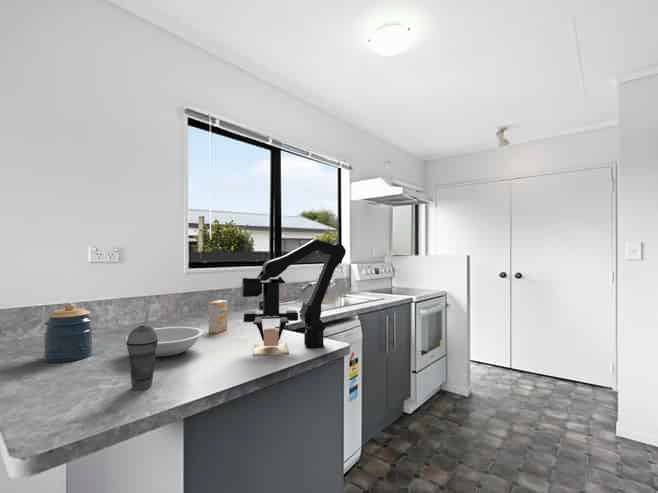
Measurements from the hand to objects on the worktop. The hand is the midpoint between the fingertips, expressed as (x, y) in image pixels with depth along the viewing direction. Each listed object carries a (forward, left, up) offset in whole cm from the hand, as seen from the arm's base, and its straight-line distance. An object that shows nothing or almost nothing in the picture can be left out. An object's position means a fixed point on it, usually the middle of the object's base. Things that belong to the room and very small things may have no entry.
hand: (270, 340), depth 125 cm
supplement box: (+22, -33, -4) cm, 40 cm away
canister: (+65, -2, -4) cm, 65 cm away
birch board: (0, 0, -3) cm, 3 cm away
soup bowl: (+35, -1, -4) cm, 35 cm away
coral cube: (0, 0, -1) cm, 1 cm away
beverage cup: (+33, +29, -4) cm, 44 cm away
